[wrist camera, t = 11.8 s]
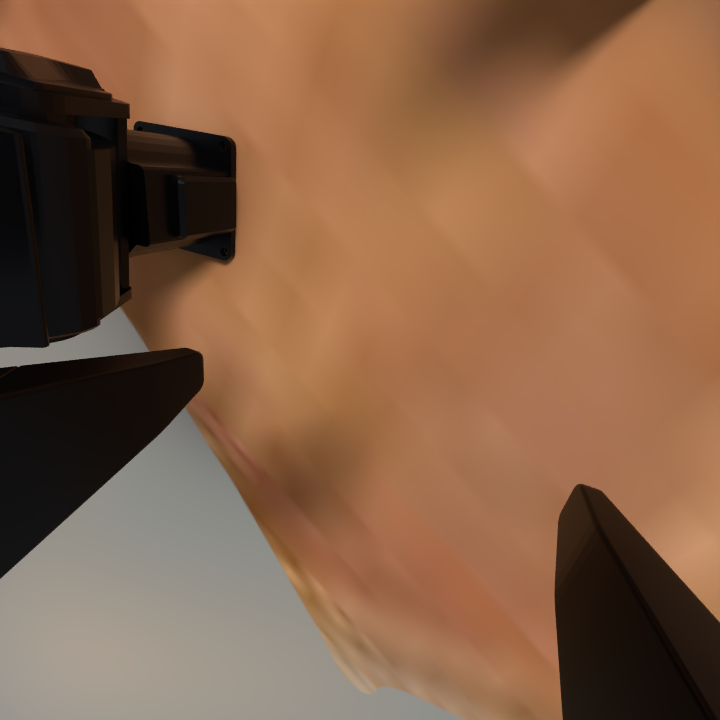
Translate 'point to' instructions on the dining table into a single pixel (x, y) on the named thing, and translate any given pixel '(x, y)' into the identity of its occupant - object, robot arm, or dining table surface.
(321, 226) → the dining table surface
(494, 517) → the dining table surface
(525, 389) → the dining table surface
